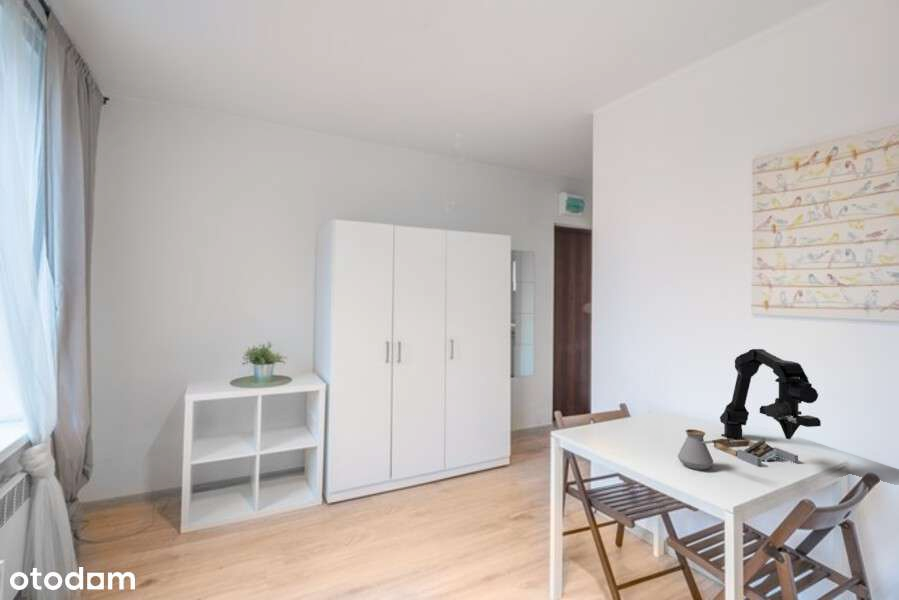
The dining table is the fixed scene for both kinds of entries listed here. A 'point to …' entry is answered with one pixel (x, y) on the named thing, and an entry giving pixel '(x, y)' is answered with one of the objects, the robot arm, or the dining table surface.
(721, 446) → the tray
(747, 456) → the bay
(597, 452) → the dining table surface
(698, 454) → the coffee pot
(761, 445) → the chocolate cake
